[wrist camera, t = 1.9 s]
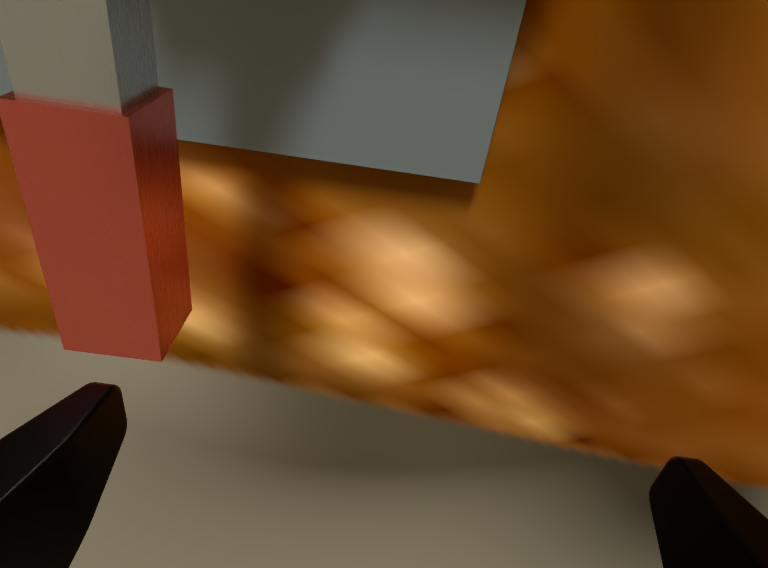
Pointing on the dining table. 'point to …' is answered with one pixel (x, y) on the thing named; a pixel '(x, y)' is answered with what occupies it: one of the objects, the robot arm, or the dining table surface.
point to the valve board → (338, 78)
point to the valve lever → (98, 171)
